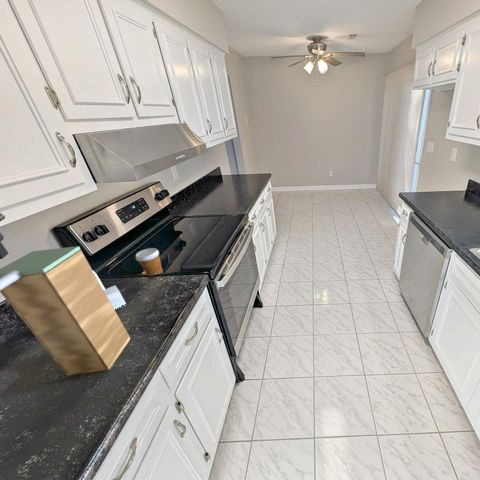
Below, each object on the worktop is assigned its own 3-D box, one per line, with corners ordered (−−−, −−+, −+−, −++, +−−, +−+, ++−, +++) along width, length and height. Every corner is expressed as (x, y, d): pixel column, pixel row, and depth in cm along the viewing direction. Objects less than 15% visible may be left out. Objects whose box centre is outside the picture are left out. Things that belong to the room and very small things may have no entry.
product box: (105, 306, 103) (97, 292, 100) (122, 298, 107) (115, 284, 104) (109, 313, 100) (100, 298, 96) (126, 304, 104) (119, 290, 100)
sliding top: (-60, 310, 51) (-68, 301, 50) (35, 256, 71) (31, 249, 70) (5, 302, 52) (-2, 294, 51) (81, 251, 72) (77, 244, 70)
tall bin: (66, 375, 75) (-10, 280, 60) (93, 343, 86) (35, 254, 70) (109, 369, 76) (45, 273, 61) (130, 338, 87) (81, 249, 71)
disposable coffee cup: (139, 278, 121) (129, 256, 116) (156, 267, 129) (147, 246, 124) (154, 280, 118) (144, 258, 113) (170, 269, 126) (162, 248, 121)
